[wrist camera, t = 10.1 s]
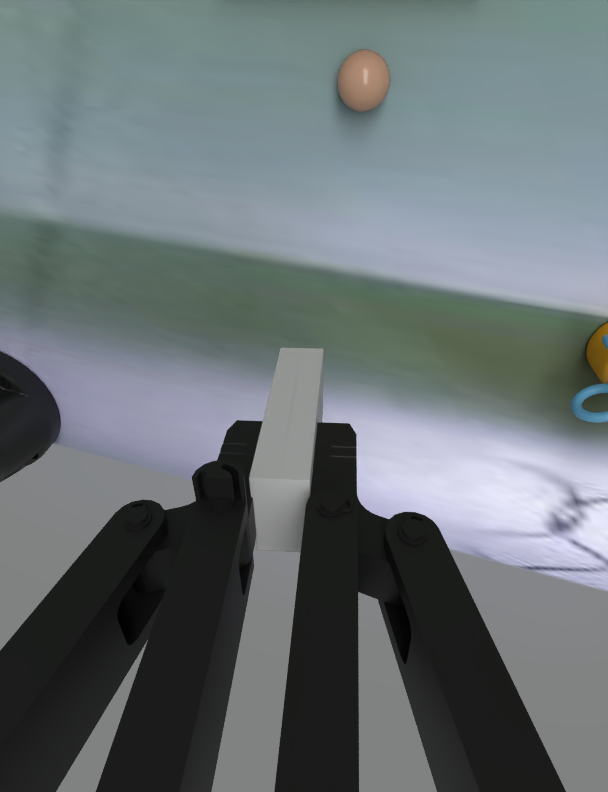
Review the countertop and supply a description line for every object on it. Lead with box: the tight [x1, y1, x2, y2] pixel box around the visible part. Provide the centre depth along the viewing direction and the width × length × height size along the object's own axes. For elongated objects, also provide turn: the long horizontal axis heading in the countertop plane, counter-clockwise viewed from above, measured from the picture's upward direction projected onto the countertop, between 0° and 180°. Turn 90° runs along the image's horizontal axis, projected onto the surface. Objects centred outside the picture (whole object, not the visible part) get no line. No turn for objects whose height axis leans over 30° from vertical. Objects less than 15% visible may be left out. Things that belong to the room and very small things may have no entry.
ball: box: [337, 49, 390, 112], centre depth 34 cm, size 4×4×4 cm
